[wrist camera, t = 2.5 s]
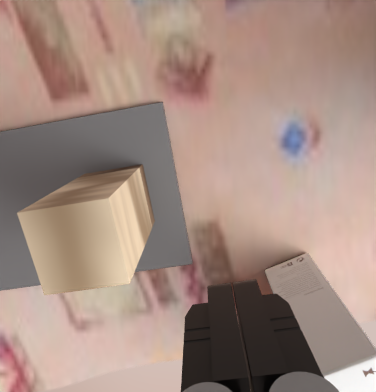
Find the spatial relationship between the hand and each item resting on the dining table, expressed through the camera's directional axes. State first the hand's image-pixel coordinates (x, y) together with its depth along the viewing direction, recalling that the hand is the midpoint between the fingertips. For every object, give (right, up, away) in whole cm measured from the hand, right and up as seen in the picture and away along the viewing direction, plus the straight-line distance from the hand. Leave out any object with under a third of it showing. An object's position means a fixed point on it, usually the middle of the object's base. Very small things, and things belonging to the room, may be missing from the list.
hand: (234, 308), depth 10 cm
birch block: (-7, +3, +17) cm, 19 cm away
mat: (-12, +3, +18) cm, 22 cm away
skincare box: (+9, -5, +19) cm, 22 cm away
